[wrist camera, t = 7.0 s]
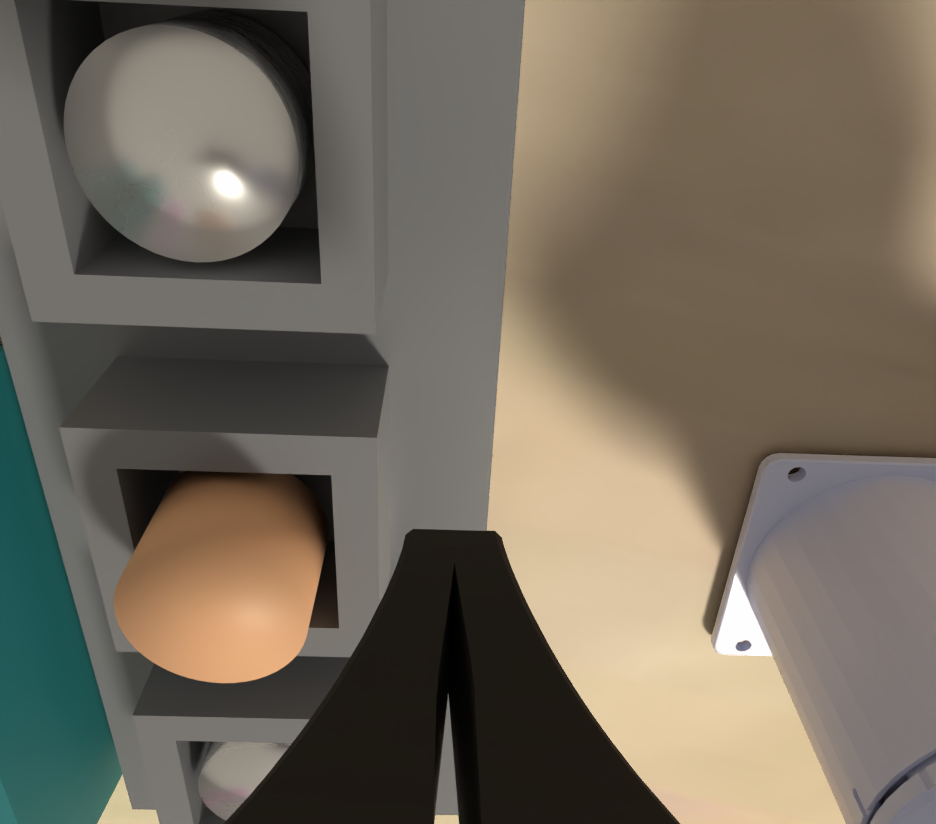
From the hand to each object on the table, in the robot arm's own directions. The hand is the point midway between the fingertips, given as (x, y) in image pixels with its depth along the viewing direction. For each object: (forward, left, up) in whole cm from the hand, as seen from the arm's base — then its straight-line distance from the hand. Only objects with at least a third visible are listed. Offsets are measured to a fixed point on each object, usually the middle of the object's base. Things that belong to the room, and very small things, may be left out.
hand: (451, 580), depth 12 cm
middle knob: (+5, +4, -6) cm, 9 cm away
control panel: (+5, +4, -10) cm, 12 cm away
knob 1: (+5, -5, -8) cm, 11 cm away
